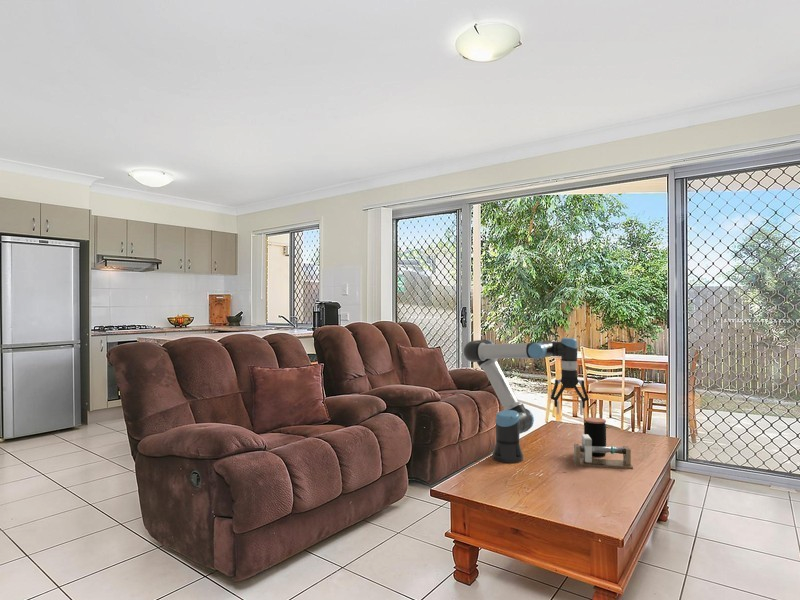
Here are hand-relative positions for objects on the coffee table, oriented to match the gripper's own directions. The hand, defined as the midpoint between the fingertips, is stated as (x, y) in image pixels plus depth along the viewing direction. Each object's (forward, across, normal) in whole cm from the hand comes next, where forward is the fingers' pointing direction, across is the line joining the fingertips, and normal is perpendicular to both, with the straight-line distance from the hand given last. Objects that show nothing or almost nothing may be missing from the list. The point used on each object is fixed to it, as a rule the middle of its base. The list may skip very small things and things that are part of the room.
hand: (569, 414), depth 251 cm
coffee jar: (+24, +15, +17) cm, 33 cm away
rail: (+24, +15, 0) cm, 28 cm away
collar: (+22, +8, 0) cm, 23 cm away
